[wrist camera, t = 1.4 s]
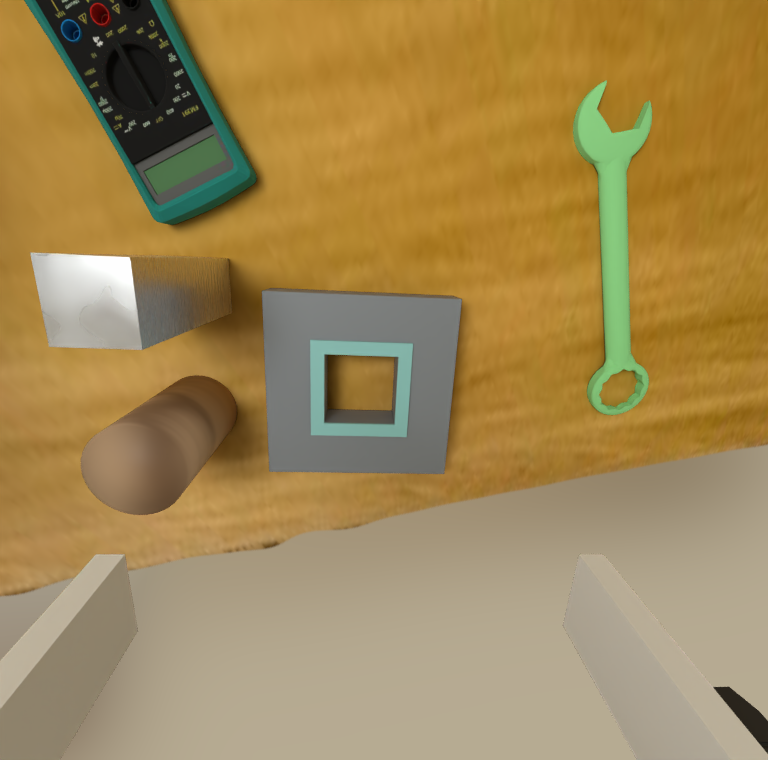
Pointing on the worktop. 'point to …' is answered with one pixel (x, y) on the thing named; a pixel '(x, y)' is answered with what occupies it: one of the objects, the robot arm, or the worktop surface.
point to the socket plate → (365, 338)
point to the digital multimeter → (149, 101)
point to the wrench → (612, 237)
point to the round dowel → (159, 446)
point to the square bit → (128, 297)
